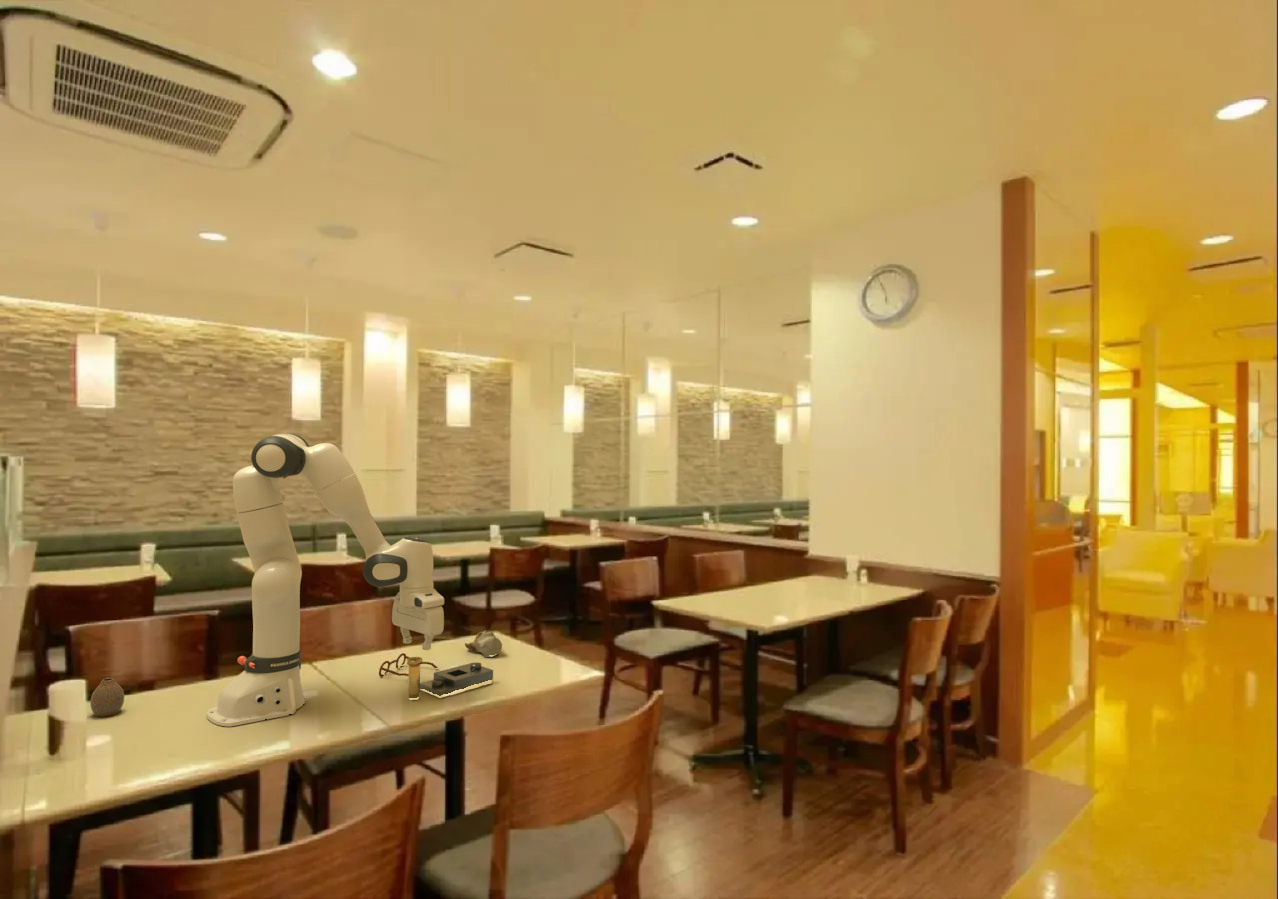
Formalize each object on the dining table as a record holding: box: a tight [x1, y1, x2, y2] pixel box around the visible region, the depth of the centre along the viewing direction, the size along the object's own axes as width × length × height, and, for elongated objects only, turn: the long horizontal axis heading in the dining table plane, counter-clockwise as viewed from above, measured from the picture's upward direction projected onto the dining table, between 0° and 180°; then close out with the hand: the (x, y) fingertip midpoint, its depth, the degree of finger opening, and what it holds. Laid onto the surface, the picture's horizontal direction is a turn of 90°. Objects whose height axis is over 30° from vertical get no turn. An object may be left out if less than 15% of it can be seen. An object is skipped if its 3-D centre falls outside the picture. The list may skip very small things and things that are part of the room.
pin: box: [406, 656, 423, 698], centre depth 198 cm, size 4×4×11 cm
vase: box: [89, 677, 125, 718], centre depth 182 cm, size 7×7×9 cm
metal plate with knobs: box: [420, 662, 494, 696], centre depth 208 cm, size 18×10×5 cm, turn 139°
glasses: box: [378, 653, 439, 677], centre depth 219 cm, size 13×13×5 cm
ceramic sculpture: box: [464, 628, 503, 657], centre depth 242 cm, size 11×9×15 cm
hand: (416, 646), depth 198 cm, fingers open, 8 cm apart
